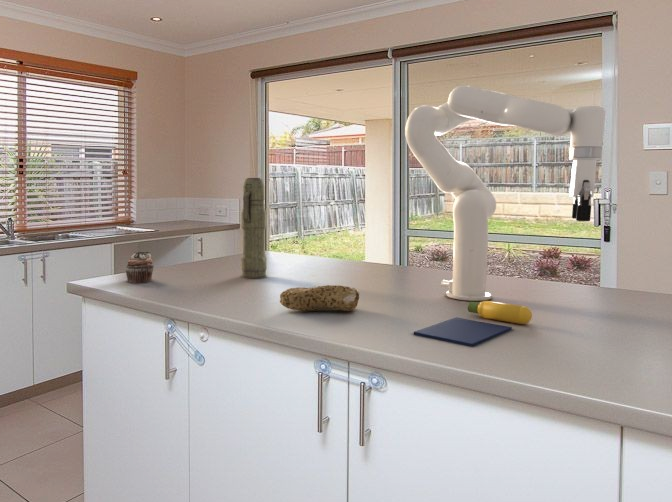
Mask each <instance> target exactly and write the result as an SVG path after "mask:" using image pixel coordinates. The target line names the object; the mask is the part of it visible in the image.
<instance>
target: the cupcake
mask: <svg viewBox="0 0 672 502" xmlns="http://www.w3.org/2000/svg"><path fill="white" fill-rule="evenodd" d="M151 257H152V255H151V253H150V252H149V251H138V252H136V251H134V252H133V254H132V255H131V256H130V258H129V259H128V260H127V265H126V266H125V267H124V270H125V275H126V279H127V282H128V283H131V284H144V283H149V282H152V278H153V272H154V268H155V265H154V260H153V259H152V258H151Z"/></svg>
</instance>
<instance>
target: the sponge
mask: <svg viewBox="0 0 672 502" xmlns="http://www.w3.org/2000/svg"><path fill="white" fill-rule="evenodd" d="M359 300H360V292H359V291H358V289H356V288H354V287H350V286H344V285H336V284H335V285H329V284H328V285H318V286H315V287H304V286H303V287H300V286H299V287H290V288H288V289H286V290H285V291H282V292H281V293H280V295H279V303H280V305H281V306H283V307H284V308H287V309H290V310H294V311H300V312H314V311H315V312H317V311H322V310H337V311H344V312H351V311H353V310H355V309H356V308H357V307H358V303H359Z"/></svg>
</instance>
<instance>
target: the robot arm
mask: <svg viewBox="0 0 672 502" xmlns="http://www.w3.org/2000/svg"><path fill="white" fill-rule="evenodd" d="M473 119H474V120H478V121H482V122H487V123H490V124H495V125H497V126H498V125H499V126H512V127H517V128H522V129H527V130H531V131H534V132H539V133H542V134H546V135H549V136H551V137H564V136H570V146H569V157H568V158H569V159H568V160H569V161H572V167H571V175H570V176H571V177H570V185H569V194H568V195H569V197H570V198H572V199H573V203H572V209H571V210H572V211H571V218H572V219H575V220H576V222H590V221H591V214H592V198H593V197H594V194H595V186H596V185H595V184H596V175H597V161H602V157H603V145H604V134H605V133H604V131H605V119H606V110H605V108H604V107H602V106H600V105H585V106H578V107H576V108H575V109H569V108H564V107H563V106H561V105H557V104H554V103H550V102H545V101H539V100H535V99H531V98H525V97H521V96H517V95H513V94H509V93H505V92H499V91H497V90H496V91H495V90H490V89H486V88H481V87H477V86H473V85H472V86H471V85H465V84H463V85H459V86H458V85H457V86H456V87H454V88H453V89H452V90H451V91H450V93H449V95H448V99H447V102H444V103H443V104H441V105H439V106H434V105H430V104H429V105H428V104H426V105H425V104H424V105H420V106H417V107H415V108H414V109H413V110H412V111H411V112H410V114H409V115H408V116H407V119H406V122H405V128H404V136H405V141H406V143H407V146H408V148H409V150H410V151H411V154H413V156H414V157H415V159H416V160H417V161H418V162H419V164H420V165H421V167H422V168H423V170H424V171H425V172H426V173H427V174H428V176H429V178H431V180H432V181H433V183H434V184H435V185H436V187H437V189H439V191H440V192H443V193H445V194H451V195H452V196H453V198H454V199H455V200H454V203H453V207H452V216H453V217H452V218H453V256H452V257H453V258H452V279H451V280H445V279H442V280H441V282H440V287H441V288H447V289H448V290H447V291H446V297H448V298H450V299H454V300H460V301H469V302H482V301H490V300H491V299H492V294H491V293H490V292H487V274H488V273H487V272H488V256H489V255H488V253H489V251H488V249H489V222H488V221H489V219H490V218H491V217H492V216H493V215H494V214H495V212H496V210H497V199H496V197H495V196H494V194H493V193H492V191H491V190H490V189H489V188H488V187H487V186H486V184H485V183H484V181H483V180H482V179H481V178H480V177H479V175H478V174H477V173H476V172H475V170H474V169H473V168H472V167H471V166H470V165H468V164H467V163H465V162H462V161H458V160H457V159H455V157H454V156H453V155H452V154H451V153H450V152H449V150H448V149H447V148H446V146H445V145H444V144H443V143H442V141H440V139H438V136H442V135H445V134H447V133H449V132H451V131H453V130H454V129H456V128H458V127H460V126H462V125H464V124H466V123H467V122H469V121H471V120H473Z"/></svg>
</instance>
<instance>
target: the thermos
mask: <svg viewBox="0 0 672 502" xmlns="http://www.w3.org/2000/svg"><path fill="white" fill-rule="evenodd" d="M264 183H265V182H264V180H263V179H262V178H261V177H247V178H244V181H243V185H242V202H243V204H242V210H241V215H240V216H241V218H240V219H241V224H240V225H241V229H242V256H241V261H240V262H241V277H242V278H243V279H264V278H267V266H268V264H267V263H268V262H267V255H266V229H267V211H266V207H265V205H266V204H265V198H266V197H265V193H266V192H265V191H266V189H265V188H266V187H265V184H264Z"/></svg>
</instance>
